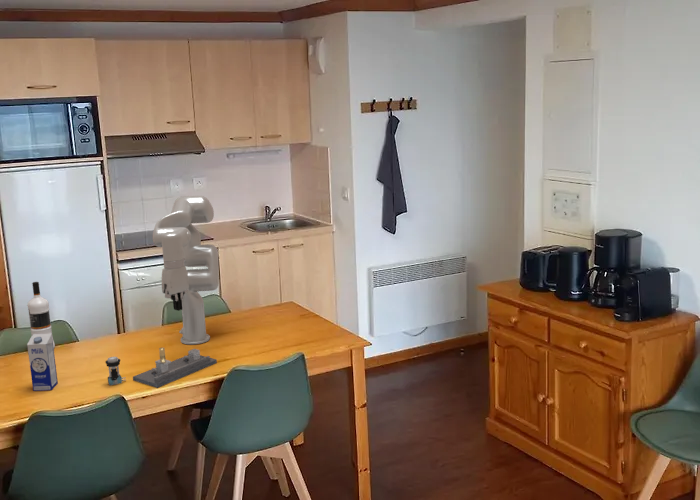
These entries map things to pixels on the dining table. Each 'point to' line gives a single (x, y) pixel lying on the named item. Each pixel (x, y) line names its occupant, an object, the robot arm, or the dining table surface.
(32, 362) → the milk carton
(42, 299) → the vodka
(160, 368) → the sliding leg
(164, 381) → the bolt plate
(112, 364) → the push button
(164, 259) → the robot arm
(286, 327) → the dining table surface
